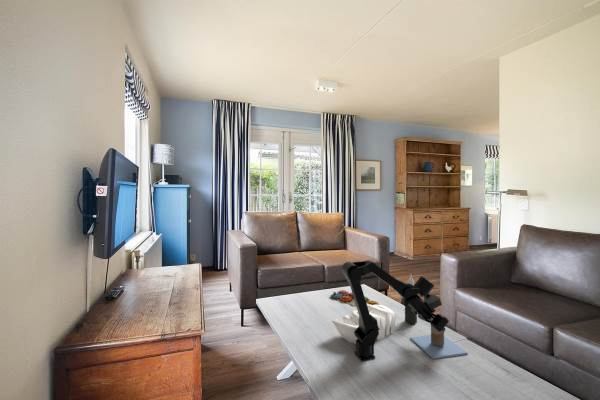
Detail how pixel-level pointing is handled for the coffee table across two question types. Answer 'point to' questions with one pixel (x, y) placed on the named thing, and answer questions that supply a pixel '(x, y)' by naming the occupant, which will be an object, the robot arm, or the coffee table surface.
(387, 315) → the wavy white extrusion
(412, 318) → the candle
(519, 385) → the coffee table surface
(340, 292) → the gear puzzle
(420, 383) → the coffee table surface
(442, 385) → the coffee table surface
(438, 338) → the walnut pillar
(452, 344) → the blue mat
